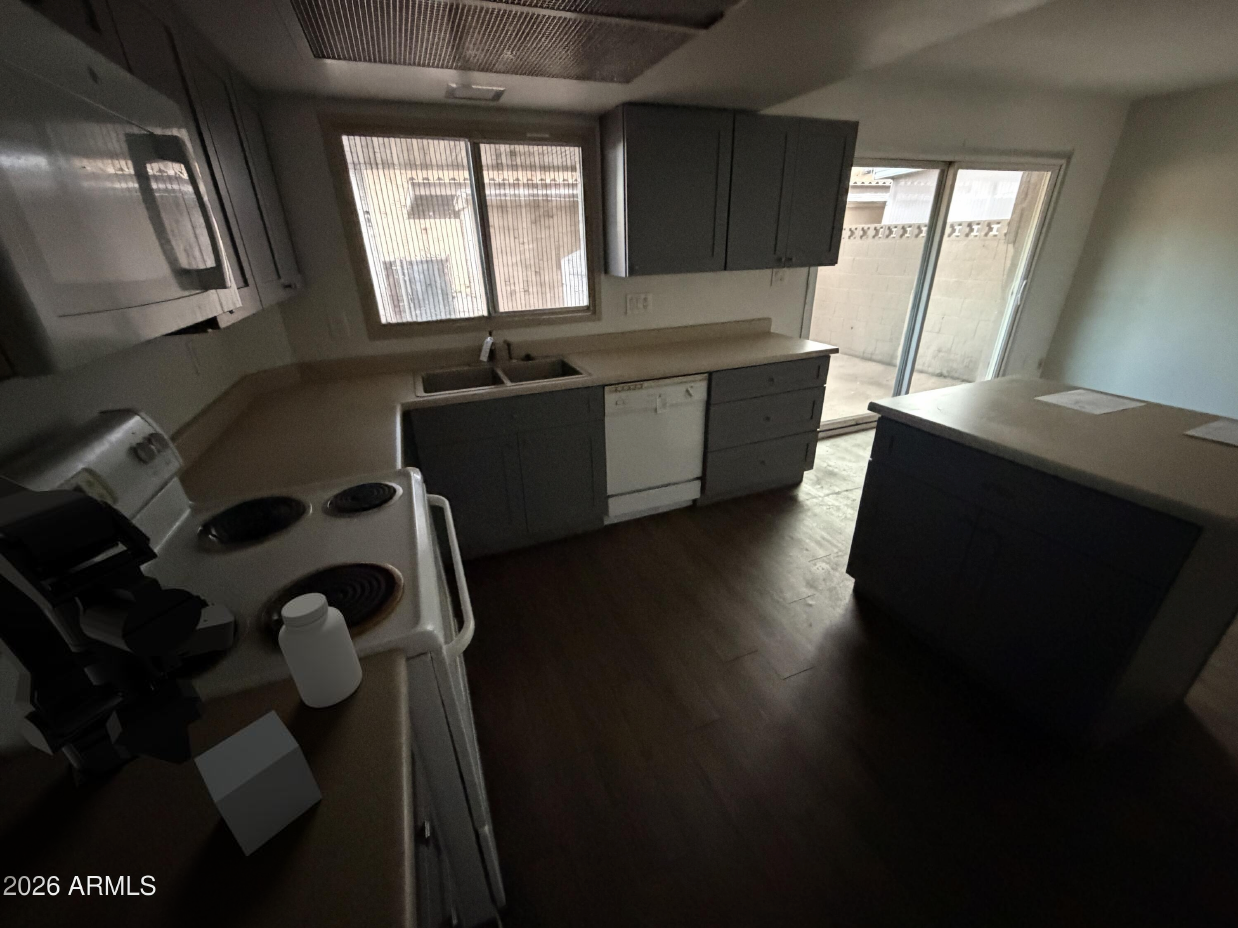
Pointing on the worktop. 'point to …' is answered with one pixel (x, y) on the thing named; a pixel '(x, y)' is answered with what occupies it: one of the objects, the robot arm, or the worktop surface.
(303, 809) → the grey cube
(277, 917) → the worktop surface
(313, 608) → the pill bottle
